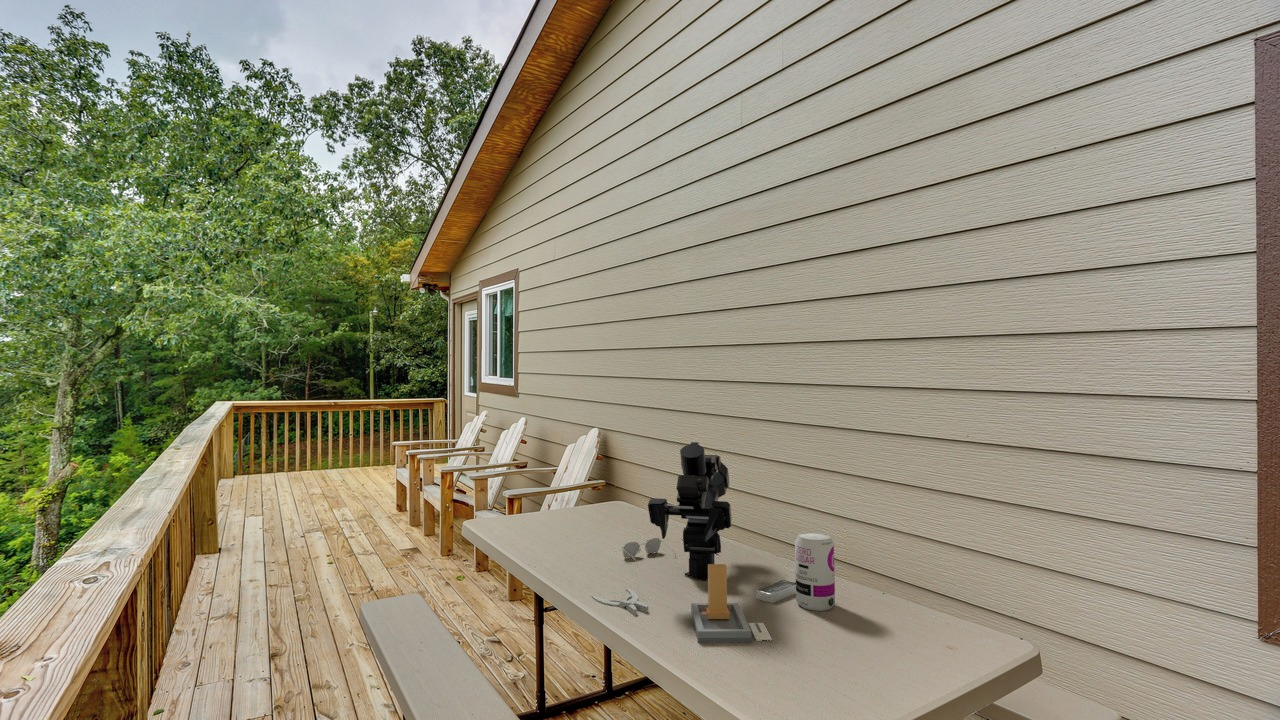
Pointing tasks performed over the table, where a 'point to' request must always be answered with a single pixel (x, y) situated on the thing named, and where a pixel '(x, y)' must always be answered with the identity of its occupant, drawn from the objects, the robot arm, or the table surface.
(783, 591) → the multiport hub
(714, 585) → the orange tall block
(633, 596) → the pliers
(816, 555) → the supplement can
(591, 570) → the table surface
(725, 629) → the switch housing
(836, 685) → the table surface
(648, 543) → the sunglasses
